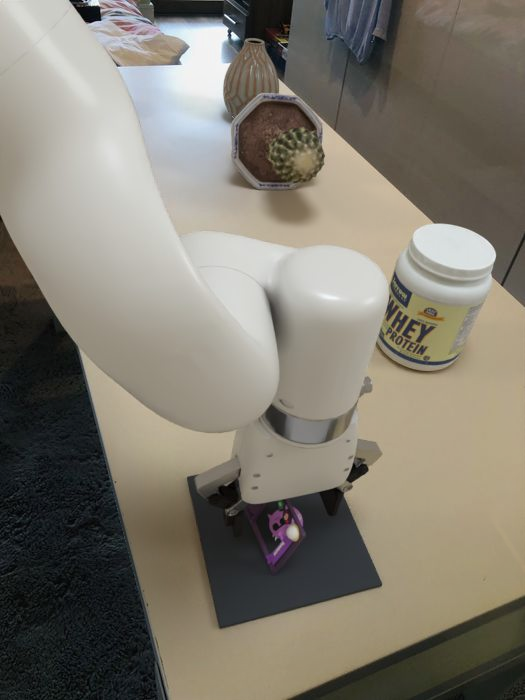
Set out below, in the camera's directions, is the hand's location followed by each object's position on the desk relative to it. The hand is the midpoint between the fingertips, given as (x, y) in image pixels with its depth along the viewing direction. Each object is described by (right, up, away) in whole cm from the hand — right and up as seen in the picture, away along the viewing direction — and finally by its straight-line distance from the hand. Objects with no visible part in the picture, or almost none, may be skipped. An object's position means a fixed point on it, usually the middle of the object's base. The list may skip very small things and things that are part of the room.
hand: (281, 513), depth 55 cm
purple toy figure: (0, -2, +2) cm, 3 cm away
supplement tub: (+20, +17, +25) cm, 36 cm away
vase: (-5, +72, +80) cm, 108 cm away
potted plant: (+1, +48, +55) cm, 73 cm away
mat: (0, -2, +2) cm, 3 cm away
